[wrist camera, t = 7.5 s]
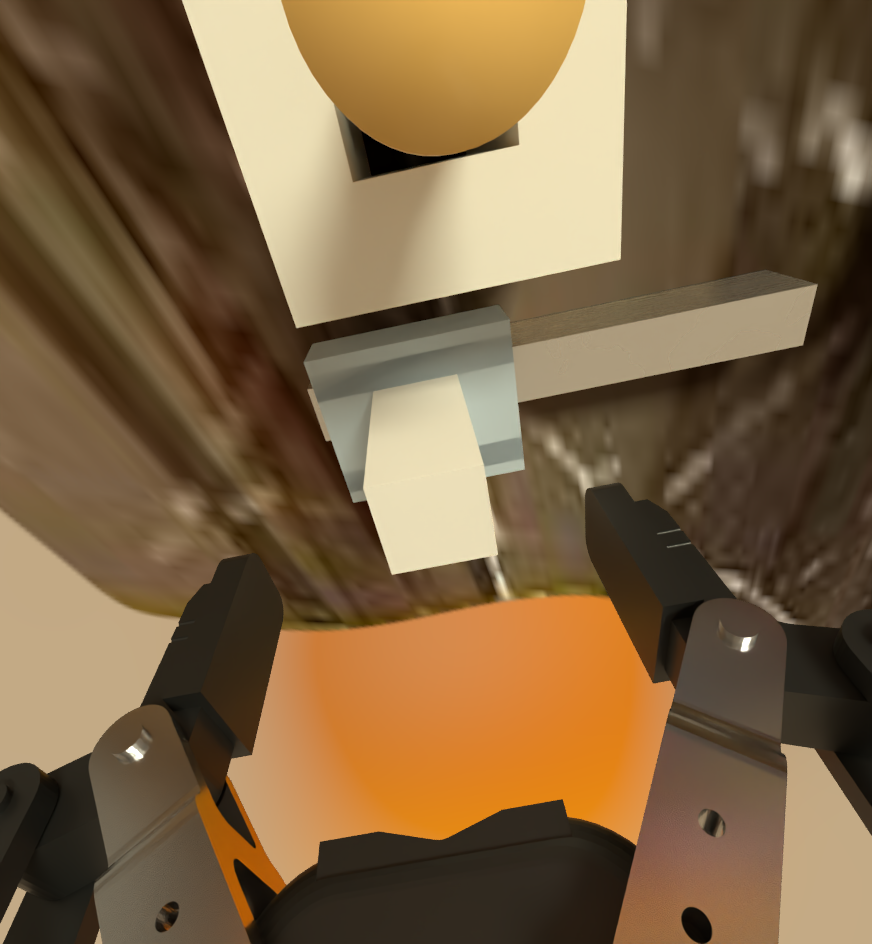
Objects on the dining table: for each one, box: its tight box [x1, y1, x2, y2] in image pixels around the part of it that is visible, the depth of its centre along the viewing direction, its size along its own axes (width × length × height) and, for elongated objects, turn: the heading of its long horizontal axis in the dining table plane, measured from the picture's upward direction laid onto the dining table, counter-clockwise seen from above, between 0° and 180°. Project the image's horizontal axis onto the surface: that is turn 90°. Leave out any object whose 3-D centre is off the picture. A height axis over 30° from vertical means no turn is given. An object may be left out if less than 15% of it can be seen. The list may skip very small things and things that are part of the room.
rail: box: [307, 270, 818, 441], centre depth 20 cm, size 20×2×3 cm, turn 101°
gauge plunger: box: [281, 0, 586, 156], centre depth 8 cm, size 3×3×7 cm
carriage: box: [304, 305, 525, 575], centre depth 16 cm, size 7×6×10 cm
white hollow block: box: [182, 0, 627, 328], centre depth 13 cm, size 8×9×9 cm
